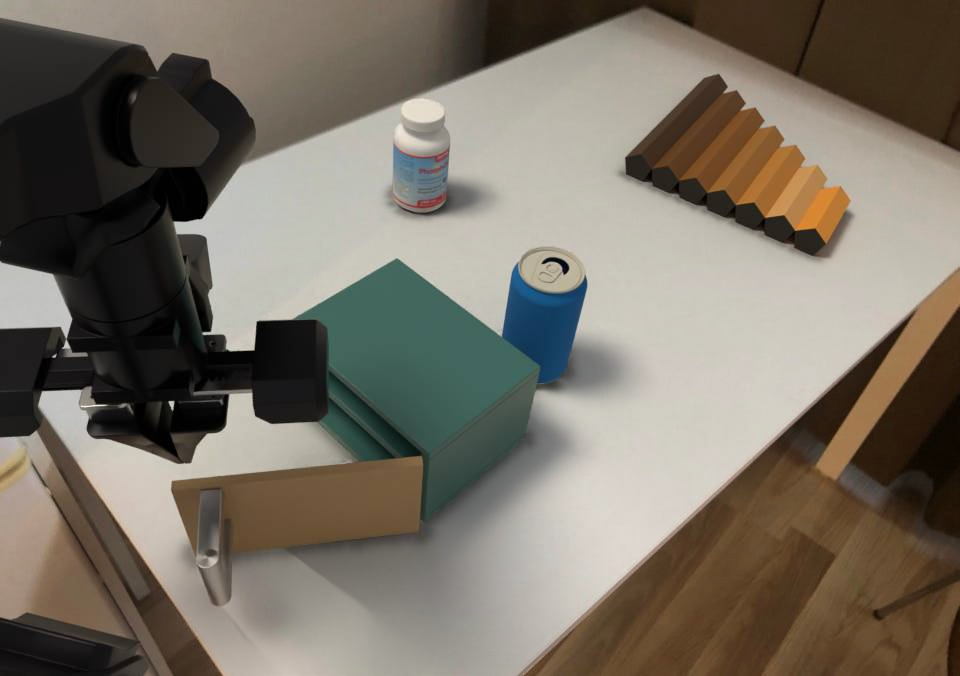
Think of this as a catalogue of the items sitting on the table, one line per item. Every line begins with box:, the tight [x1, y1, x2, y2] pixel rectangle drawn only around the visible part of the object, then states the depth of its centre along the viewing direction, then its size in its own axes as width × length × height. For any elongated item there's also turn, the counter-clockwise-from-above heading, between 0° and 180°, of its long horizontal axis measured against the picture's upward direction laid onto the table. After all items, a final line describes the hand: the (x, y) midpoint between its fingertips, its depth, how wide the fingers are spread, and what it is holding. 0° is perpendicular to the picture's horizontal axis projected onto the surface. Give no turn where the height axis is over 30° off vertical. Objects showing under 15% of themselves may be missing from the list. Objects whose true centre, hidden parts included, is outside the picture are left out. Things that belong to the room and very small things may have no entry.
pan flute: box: [624, 73, 852, 257], centre depth 99 cm, size 25×3×25 cm
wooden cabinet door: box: [170, 456, 423, 607], centre depth 55 cm, size 6×17×9 cm, turn 100°
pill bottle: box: [392, 98, 451, 214], centre depth 86 cm, size 6×6×11 cm
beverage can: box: [501, 245, 588, 385], centre depth 70 cm, size 6×6×12 cm
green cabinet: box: [293, 257, 540, 523], centre depth 66 cm, size 12×17×10 cm
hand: (185, 457), depth 50 cm, fingers closed
